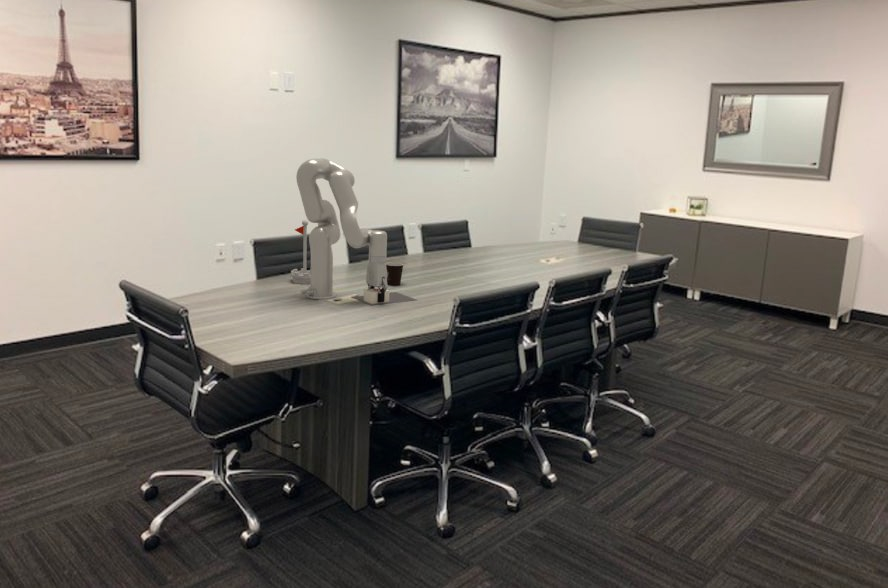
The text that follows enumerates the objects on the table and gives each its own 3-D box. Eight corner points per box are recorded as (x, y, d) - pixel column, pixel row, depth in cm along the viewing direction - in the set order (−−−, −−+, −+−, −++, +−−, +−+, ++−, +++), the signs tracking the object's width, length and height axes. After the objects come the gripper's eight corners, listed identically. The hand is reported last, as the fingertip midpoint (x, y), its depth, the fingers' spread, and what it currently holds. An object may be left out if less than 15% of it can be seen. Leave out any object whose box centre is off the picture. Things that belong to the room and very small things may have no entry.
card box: (371, 304, 309) (371, 292, 308) (363, 300, 314) (363, 289, 313) (389, 301, 315) (389, 290, 314) (381, 298, 320) (381, 287, 319)
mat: (371, 307, 307) (371, 305, 306) (350, 298, 320) (350, 297, 320) (418, 301, 321) (418, 300, 321) (395, 293, 335) (395, 291, 335)
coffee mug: (401, 286, 349) (402, 266, 347) (383, 285, 350) (384, 265, 347) (403, 281, 361) (404, 262, 359) (386, 280, 361) (387, 261, 359)
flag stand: (321, 280, 356) (322, 219, 349) (314, 285, 343) (314, 222, 336) (295, 278, 357) (295, 217, 350) (287, 283, 344) (287, 220, 338)
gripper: (359, 256, 315) (358, 297, 319) (381, 263, 302) (379, 305, 306) (374, 255, 319) (373, 295, 323) (396, 262, 306) (394, 303, 310)
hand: (376, 299), depth 314 cm, fingers closed on card box, 6 cm apart
